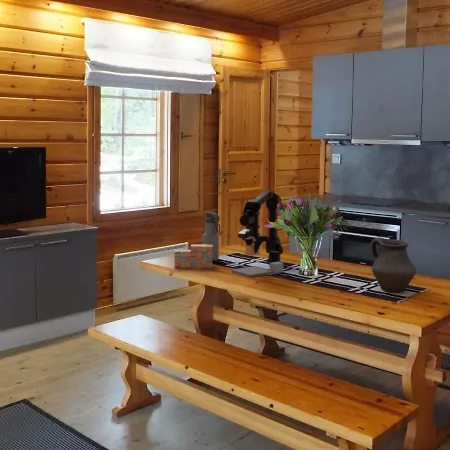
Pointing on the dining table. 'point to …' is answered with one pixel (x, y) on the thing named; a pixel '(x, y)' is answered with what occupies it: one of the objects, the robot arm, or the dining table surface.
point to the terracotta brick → (251, 250)
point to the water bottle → (212, 233)
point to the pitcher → (392, 265)
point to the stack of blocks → (195, 257)
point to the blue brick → (276, 267)
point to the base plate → (252, 271)
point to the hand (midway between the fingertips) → (252, 252)
